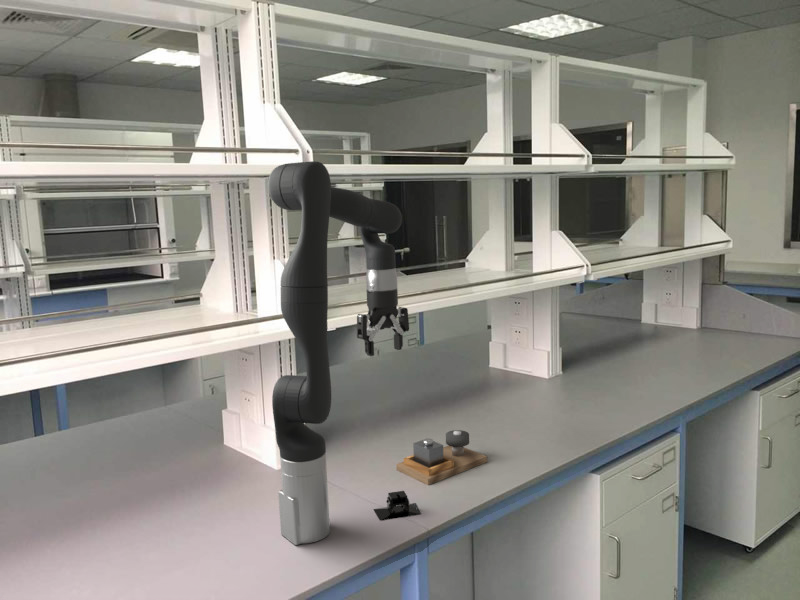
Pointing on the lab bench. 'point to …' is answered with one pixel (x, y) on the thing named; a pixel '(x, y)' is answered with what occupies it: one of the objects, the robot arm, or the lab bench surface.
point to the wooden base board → (442, 465)
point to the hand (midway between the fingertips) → (384, 352)
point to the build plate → (397, 507)
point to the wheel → (457, 438)
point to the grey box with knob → (428, 453)
